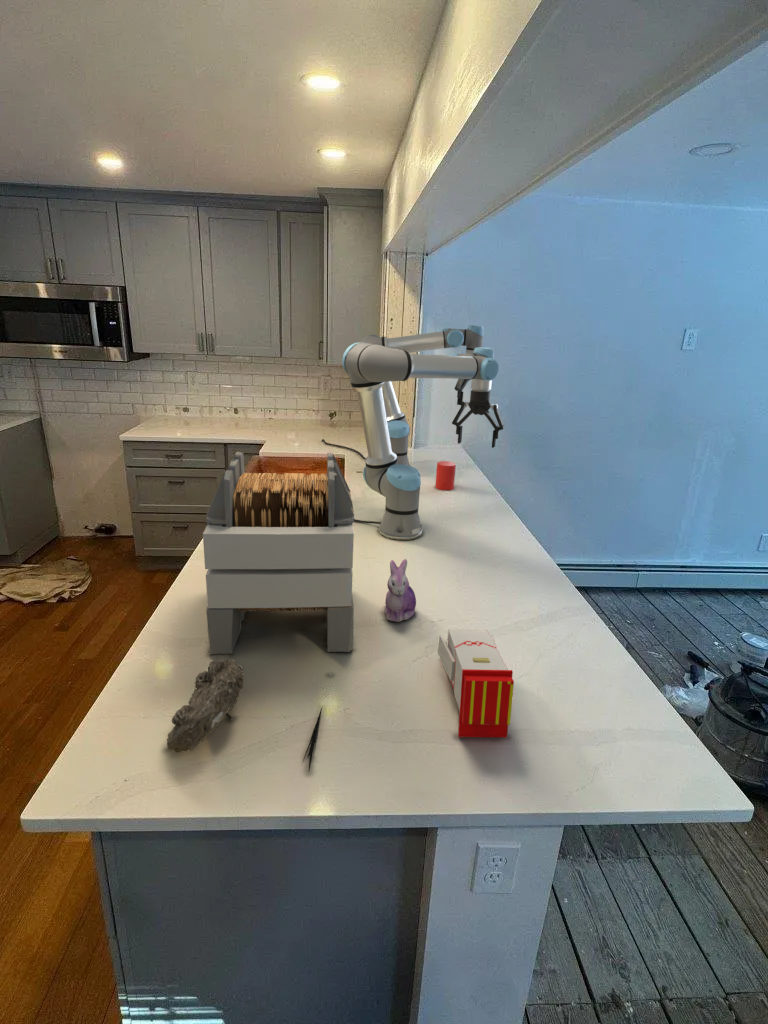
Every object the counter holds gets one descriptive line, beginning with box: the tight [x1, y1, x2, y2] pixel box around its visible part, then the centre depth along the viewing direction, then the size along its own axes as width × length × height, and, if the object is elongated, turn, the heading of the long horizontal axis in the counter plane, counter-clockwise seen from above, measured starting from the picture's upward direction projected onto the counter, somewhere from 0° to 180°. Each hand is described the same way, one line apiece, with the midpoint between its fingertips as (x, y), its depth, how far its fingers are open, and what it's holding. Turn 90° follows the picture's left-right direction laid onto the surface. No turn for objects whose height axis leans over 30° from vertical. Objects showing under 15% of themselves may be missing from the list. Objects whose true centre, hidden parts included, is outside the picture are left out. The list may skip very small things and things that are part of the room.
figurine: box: [384, 558, 417, 623], centre depth 145 cm, size 9×10×15 cm
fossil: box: [166, 658, 245, 754], centre depth 106 cm, size 22×10×15 cm
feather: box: [301, 673, 332, 771], centre depth 108 cm, size 2×28×2 cm
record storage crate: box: [202, 451, 355, 655], centre depth 137 cm, size 34×33×41 cm
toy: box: [437, 628, 515, 738], centre depth 117 cm, size 12×13×30 cm
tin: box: [434, 460, 457, 492], centre depth 252 cm, size 8×8×11 cm
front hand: (476, 444), depth 222 cm, fingers open, 13 cm apart
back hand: (468, 404), depth 278 cm, fingers open, 13 cm apart
